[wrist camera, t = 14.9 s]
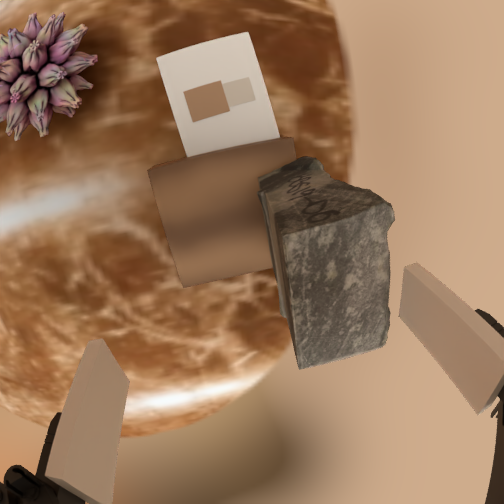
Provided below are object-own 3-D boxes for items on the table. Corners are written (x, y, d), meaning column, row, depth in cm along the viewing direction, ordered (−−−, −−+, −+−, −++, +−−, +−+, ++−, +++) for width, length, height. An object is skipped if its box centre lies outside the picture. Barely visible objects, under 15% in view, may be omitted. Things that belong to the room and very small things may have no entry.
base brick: (153, 166, 26) (147, 170, 24) (284, 136, 27) (293, 137, 24) (185, 274, 31) (183, 288, 29) (301, 247, 32) (309, 258, 29)
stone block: (307, 153, 24) (247, 163, 24) (399, 186, 11) (277, 206, 11) (318, 247, 28) (264, 258, 28) (389, 348, 14) (299, 373, 14)
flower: (105, 12, 19) (57, -34, 8) (125, 110, 24) (72, 102, 13) (18, 61, 18) (-50, 49, 8) (34, 153, 23) (-37, 174, 13)
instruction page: (156, 58, 22) (155, 57, 22) (247, 32, 22) (248, 31, 22) (191, 170, 27) (191, 170, 27) (281, 143, 27) (282, 143, 27)
